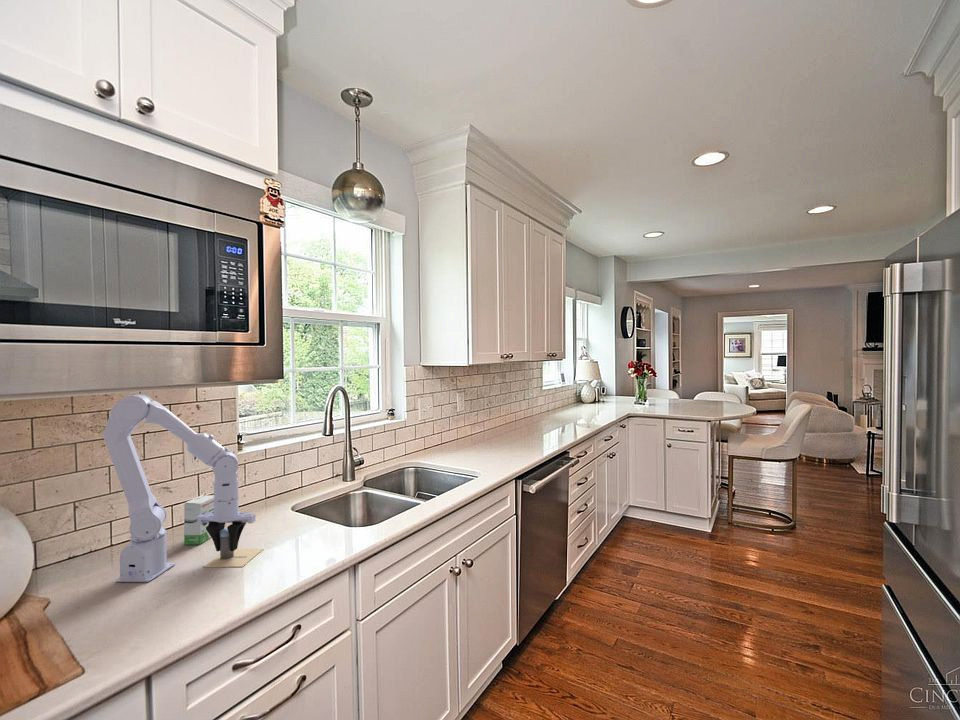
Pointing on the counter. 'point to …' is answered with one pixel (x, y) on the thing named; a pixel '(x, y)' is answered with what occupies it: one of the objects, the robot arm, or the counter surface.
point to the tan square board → (235, 558)
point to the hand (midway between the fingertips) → (226, 549)
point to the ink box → (191, 510)
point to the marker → (225, 545)
